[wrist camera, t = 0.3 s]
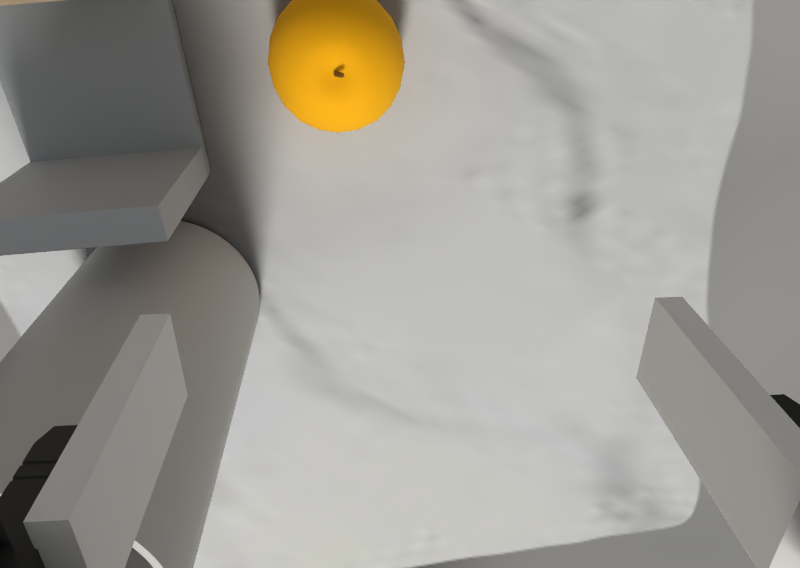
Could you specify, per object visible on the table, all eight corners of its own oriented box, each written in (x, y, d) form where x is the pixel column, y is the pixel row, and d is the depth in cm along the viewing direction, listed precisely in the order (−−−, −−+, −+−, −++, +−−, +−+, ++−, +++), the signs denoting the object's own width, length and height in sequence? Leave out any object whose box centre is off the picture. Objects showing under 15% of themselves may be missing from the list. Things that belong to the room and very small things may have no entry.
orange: (269, -20, 37) (250, -11, 30) (402, -18, 37) (411, -9, 31) (279, 116, 41) (265, 150, 34) (399, 116, 41) (407, 150, 35)
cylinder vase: (206, 187, 43) (48, 448, 21) (290, 326, 49) (236, 642, 27) (52, 254, 44) (-241, 559, 23) (151, 380, 50) (-5, 719, 29)
